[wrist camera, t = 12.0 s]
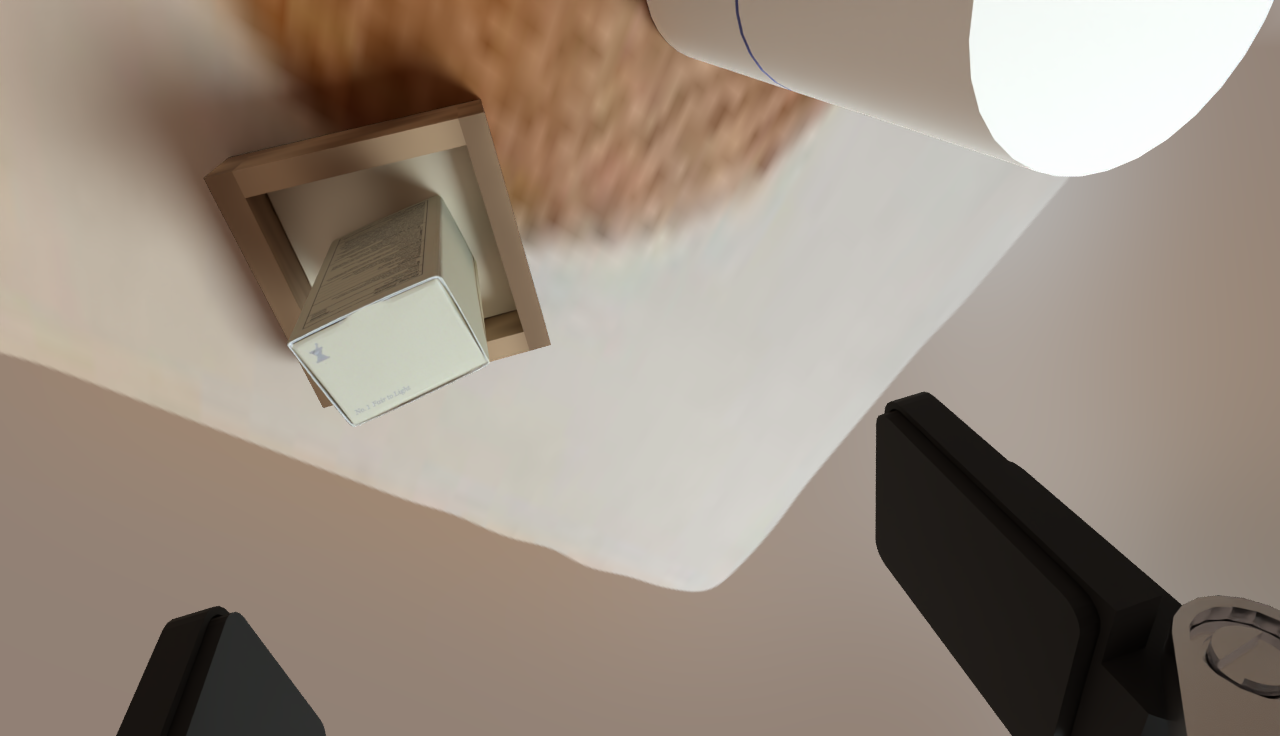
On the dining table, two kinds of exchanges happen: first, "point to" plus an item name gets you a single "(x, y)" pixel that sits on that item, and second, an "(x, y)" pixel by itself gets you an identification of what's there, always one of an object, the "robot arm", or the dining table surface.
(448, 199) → the brown wooden square tray
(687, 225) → the dining table surface
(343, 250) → the skincare box
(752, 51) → the cylindrical container
